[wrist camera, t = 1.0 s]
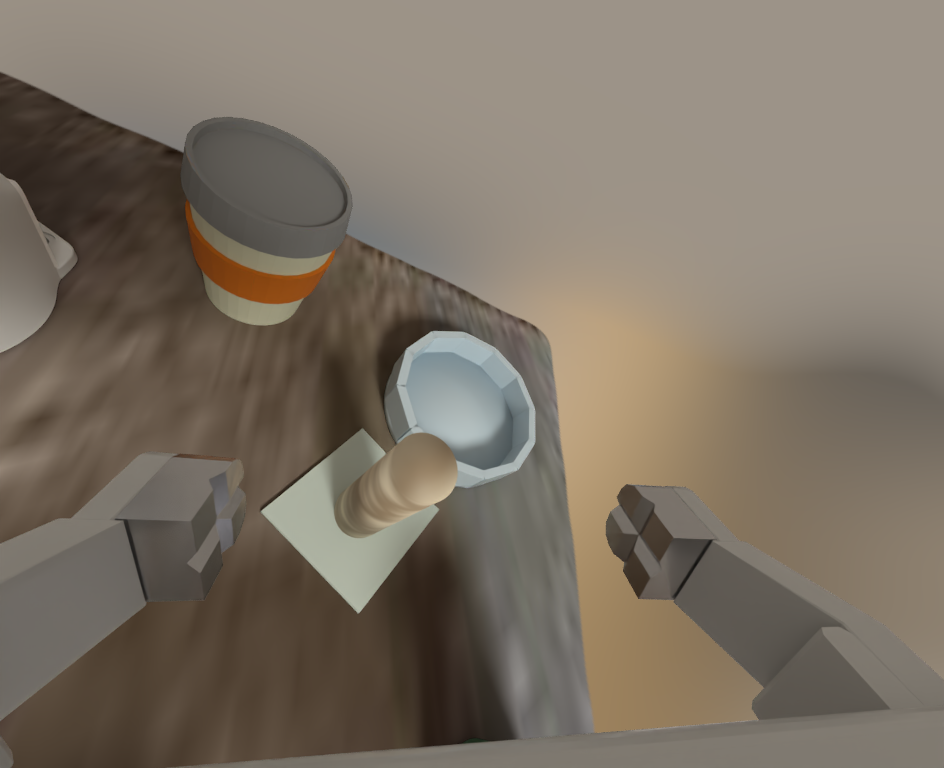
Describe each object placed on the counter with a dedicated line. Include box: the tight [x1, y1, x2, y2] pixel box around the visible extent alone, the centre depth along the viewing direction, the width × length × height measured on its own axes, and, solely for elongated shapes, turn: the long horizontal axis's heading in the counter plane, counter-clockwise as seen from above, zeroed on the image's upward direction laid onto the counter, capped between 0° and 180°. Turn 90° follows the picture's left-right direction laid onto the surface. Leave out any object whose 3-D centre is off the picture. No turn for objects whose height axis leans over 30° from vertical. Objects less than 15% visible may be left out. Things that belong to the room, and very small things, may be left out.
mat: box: [261, 428, 439, 613], centre depth 36 cm, size 12×12×1 cm
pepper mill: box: [334, 432, 458, 538], centre depth 31 cm, size 5×5×14 cm
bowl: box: [384, 331, 535, 488], centre depth 47 cm, size 19×19×4 cm
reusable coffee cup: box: [180, 117, 352, 325], centre depth 36 cm, size 12×12×15 cm
